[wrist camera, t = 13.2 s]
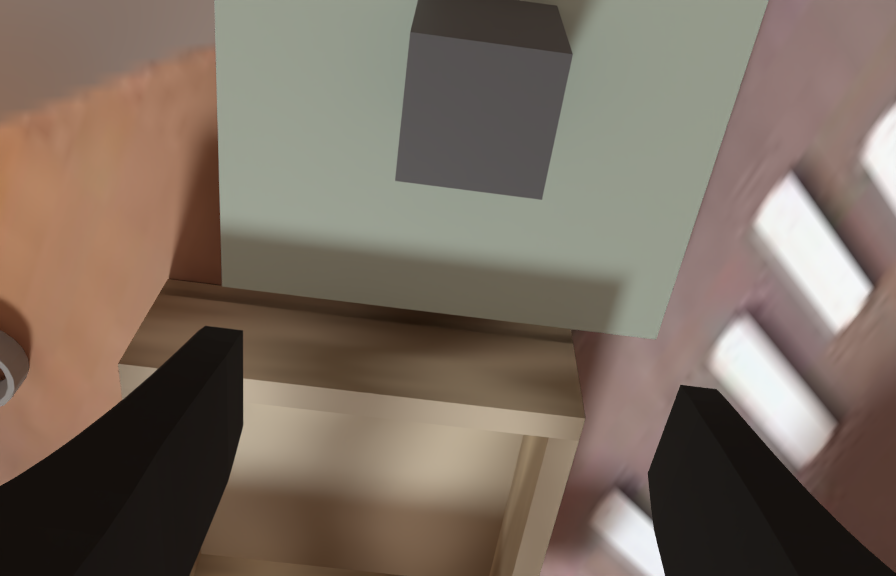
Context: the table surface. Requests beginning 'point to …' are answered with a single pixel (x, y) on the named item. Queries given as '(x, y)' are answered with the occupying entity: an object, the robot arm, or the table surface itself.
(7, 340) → the adjustable wrench
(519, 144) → the lid
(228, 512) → the open wooden tray
